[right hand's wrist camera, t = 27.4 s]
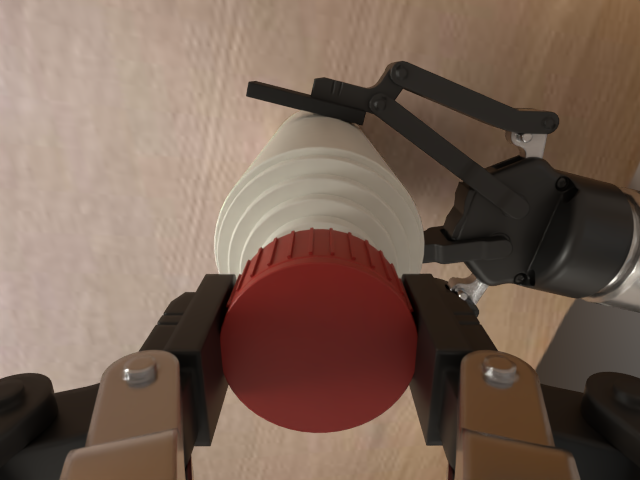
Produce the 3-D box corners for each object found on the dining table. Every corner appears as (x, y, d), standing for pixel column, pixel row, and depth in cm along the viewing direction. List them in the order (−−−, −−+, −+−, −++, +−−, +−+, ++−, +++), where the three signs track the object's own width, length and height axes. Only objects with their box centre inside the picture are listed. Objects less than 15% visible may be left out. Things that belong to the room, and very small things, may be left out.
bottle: (311, 84, 31) (291, 110, 9) (388, 149, 33) (540, 316, 10) (251, 164, 33) (105, 355, 11) (326, 222, 35) (338, 496, 12)
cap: (274, 195, 11) (263, 224, 9) (436, 269, 11) (461, 311, 9) (208, 340, 12) (186, 394, 10) (356, 398, 13) (362, 459, 11)
